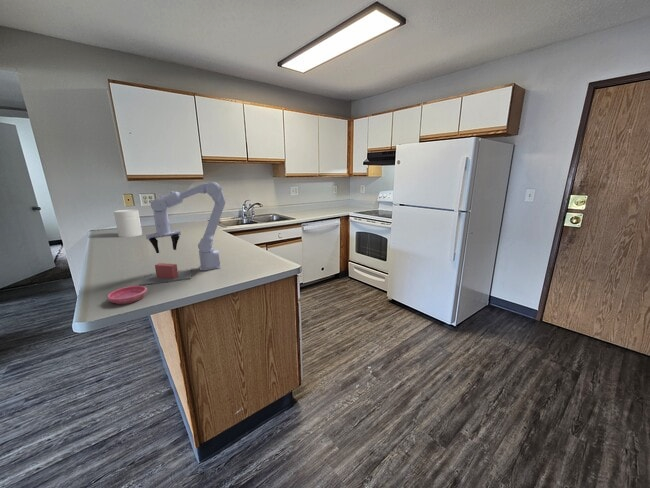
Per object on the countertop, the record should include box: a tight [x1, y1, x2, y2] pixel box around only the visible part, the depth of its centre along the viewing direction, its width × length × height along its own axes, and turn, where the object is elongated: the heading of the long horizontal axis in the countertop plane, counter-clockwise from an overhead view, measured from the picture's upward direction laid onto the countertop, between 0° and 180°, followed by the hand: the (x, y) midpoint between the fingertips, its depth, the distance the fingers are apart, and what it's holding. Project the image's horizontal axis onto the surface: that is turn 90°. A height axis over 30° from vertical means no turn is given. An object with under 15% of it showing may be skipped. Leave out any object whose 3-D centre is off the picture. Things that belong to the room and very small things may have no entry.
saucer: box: [106, 285, 148, 305], centre depth 102 cm, size 12×12×3 cm
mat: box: [138, 269, 192, 286], centre depth 123 cm, size 20×12×1 cm, turn 114°
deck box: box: [154, 262, 179, 279], centre depth 122 cm, size 3×9×6 cm, turn 79°
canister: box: [113, 209, 143, 238], centre depth 213 cm, size 16×16×20 cm
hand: (166, 251), depth 130 cm, fingers open, 7 cm apart
